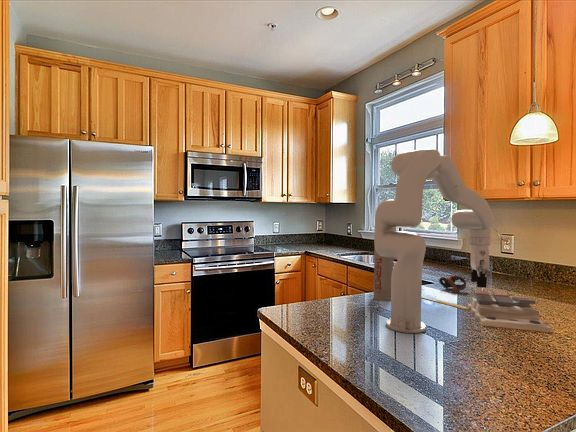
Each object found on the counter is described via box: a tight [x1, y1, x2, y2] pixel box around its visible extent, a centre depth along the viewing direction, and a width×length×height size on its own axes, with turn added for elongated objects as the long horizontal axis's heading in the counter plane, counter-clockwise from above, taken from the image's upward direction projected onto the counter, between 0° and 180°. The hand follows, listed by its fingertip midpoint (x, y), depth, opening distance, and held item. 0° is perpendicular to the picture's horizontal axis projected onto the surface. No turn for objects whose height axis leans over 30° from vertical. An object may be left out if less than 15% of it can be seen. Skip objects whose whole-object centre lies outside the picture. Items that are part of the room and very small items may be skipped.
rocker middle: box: [492, 291, 514, 306], centre depth 125 cm, size 8×5×2 cm, turn 163°
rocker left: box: [473, 289, 494, 304], centre depth 127 cm, size 8×5×2 cm, turn 163°
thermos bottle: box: [373, 247, 394, 302], centre depth 148 cm, size 8×8×28 cm
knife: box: [421, 295, 470, 311], centre depth 147 cm, size 1×32×5 cm
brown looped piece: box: [438, 275, 467, 294], centre depth 165 cm, size 12×10×8 cm
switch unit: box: [467, 296, 553, 333], centre depth 123 cm, size 22×20×5 cm
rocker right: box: [511, 296, 536, 305], centre depth 123 cm, size 8×5×2 cm, turn 163°
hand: (478, 284), depth 135 cm, fingers open, 9 cm apart
